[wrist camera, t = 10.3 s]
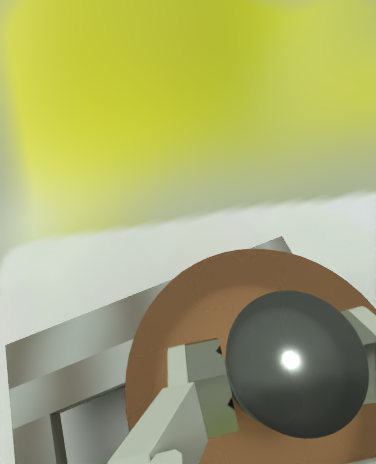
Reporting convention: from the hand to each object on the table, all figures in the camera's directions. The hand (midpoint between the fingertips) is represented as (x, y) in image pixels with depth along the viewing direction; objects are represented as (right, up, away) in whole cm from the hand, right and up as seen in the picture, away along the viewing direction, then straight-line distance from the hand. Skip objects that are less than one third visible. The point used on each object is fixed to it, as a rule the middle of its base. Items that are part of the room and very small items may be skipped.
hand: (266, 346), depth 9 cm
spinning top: (+1, -5, +7) cm, 9 cm away
